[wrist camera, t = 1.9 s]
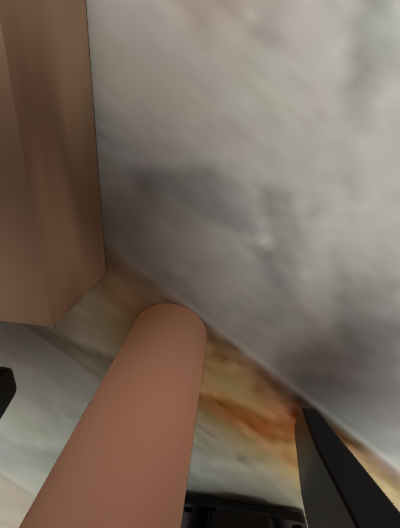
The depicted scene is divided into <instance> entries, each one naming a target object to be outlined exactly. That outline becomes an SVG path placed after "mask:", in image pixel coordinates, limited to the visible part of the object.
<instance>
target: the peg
mask: <svg viewBox="0 0 400 528" xmlns="http://www.w3.org/2000/svg"><path fill="white" fill-rule="evenodd" d="M206 346H207V331H206V328H205V326H204V324H203V322H202V320H201V319H200V318H199V317H198V316H197V315H196V314H195V313H194V312H192V311H191V310H189V309H188V308H186V307H183V306H181V305H178V304H173V303H160V304H156V305H153V306H150V307H148V308H147V309H145V310H144V311H143V312H142V313H141V314H140V315H139V316H138V318H137V320H136V321H135V323H134V325H133V327H132V329H131V330H130V332H129V334H128V336H127V337H126V339H125V341H124V343H123V344H122V346H121V348H120V350H119V352H118V353H117V355H116V357H115V359H114V360H113V362H112V364H111V366H110V367H109V369H108V371H107V373H106V375H105V376H104V378H103V380H102V382H101V383H100V385H99V387H98V389H97V390H96V392H95V394H94V396H93V398H92V399H91V401H90V403H89V405H88V406H87V408H86V410H85V412H84V413H83V415H82V417H81V419H80V421H79V422H78V424H77V426H76V428H75V429H74V431H73V433H72V435H71V436H70V438H69V440H68V442H67V444H66V445H65V447H64V449H63V451H62V452H61V454H60V456H59V458H58V459H57V461H56V463H55V465H54V467H53V468H52V470H51V472H50V474H49V475H48V477H47V479H46V481H45V482H44V484H43V486H42V488H41V490H40V491H39V493H38V495H37V497H36V498H35V500H34V502H33V504H32V505H31V507H30V509H29V511H28V513H27V514H26V516H25V518H24V520H23V521H22V523H21V525H20V527H19V528H181V522H182V515H183V508H184V501H185V494H186V487H187V480H188V473H189V466H190V459H191V452H192V445H193V437H194V430H195V423H196V416H197V409H198V402H199V395H200V388H201V381H202V374H203V367H204V360H205V353H206Z"/></svg>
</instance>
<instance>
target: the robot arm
mask: <svg viewBox="0 0 400 528" xmlns="http://www.w3.org/2000/svg"><path fill="white" fill-rule="evenodd" d="M15 393H16V383H15V379H14V375H13V371H12V369H11V368H7V367H0V419H1V417H2V415H3V414H4V412H5V410H6V409H7V407H8V405H9V404H10V402H11V400H12V399H13V397H14V395H15ZM295 441H296V450H297V459H298V468H299V477H300V486H301V494H302V499H303V504H304V509H305V514H306V518H305V516H304V515H303V514H301V513H298V512H293V511H287V510H280V509H274V508H268V507H262V506H255V505H249V504H243V503H237V502H230V501H224V500H218V499H212V498H206V497H199V496H193V495H185V501H184V508H183V515H182V522H181V528H307V524H308V528H400V512H399V511H398V509H397V508H396V507H395V506H394V505H393V503H392V502H391V501H390V500H389V498H388V497H387V496H386V495H385V493H384V492H383V491H382V490H381V488H380V487H379V486H378V485H377V484H376V482H375V481H374V480H373V479H372V477H371V476H370V475H369V474H368V472H367V471H366V470H365V469H364V467H363V466H362V465H361V464H360V463H359V461H358V460H357V459H356V458H355V456H354V455H353V454H352V453H351V451H350V450H349V449H348V448H347V446H346V445H345V444H344V443H343V442H342V440H341V439H340V438H339V437H338V435H337V434H336V433H335V432H334V430H333V429H332V428H331V427H330V425H329V424H328V423H327V422H326V421H325V419H324V418H323V417H322V416H321V414H320V413H319V412H318V411H317V410H316V409H315V408H313V407H305V406H302V407H300V409H299V412H298V416H297V420H296V424H295ZM306 519H307V524H306Z"/></svg>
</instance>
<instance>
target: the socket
mask: <svg viewBox="0 0 400 528" xmlns="http://www.w3.org/2000/svg"><path fill="white" fill-rule="evenodd" d="M105 274H106V266H105V253H104V240H103V227H102V213H101V200H100V187H99V174H98V160H97V147H96V134H95V121H94V108H93V94H92V81H91V68H90V55H89V41H88V28H87V15H86V2H85V0H0V321H4V322H13V323H21V324H30V325H38V326H47V327H53V326H54V325H55V324H56V323H57V322H58V321H59V320H60V319H61V318H62V317H63V316H64V315H65V314H66V313H67V312H68V311H69V310H70V309H71V308H72V307H73V306H74V305H75V304H76V303H77V302H78V301H79V300H80V299H81V298H82V297H83V296H84V295H85V294H86V293H87V292H88V291H89V290H90V289H91V288H92V287H93V286H94V285H95V284H96V283H97V282H98V281H99V280H100V279H101V278H102V277H103V276H104V275H105Z"/></svg>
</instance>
